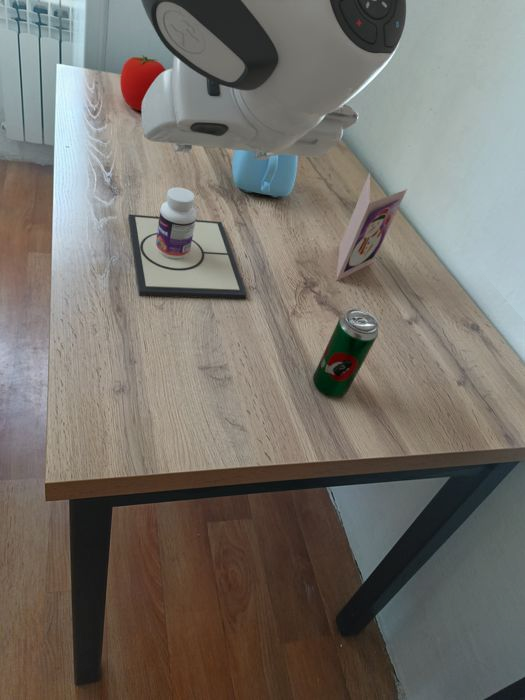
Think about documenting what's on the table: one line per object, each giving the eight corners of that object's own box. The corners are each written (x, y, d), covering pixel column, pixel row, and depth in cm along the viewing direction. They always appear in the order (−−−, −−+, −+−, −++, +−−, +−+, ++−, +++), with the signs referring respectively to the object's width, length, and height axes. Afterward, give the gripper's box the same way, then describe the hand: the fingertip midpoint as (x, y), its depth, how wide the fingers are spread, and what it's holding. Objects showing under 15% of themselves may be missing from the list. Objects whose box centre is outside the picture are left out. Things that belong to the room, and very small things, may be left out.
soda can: (353, 397, 73) (389, 332, 65) (321, 402, 70) (354, 336, 62) (336, 370, 76) (368, 305, 68) (305, 374, 74) (334, 307, 65)
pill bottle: (152, 239, 85) (159, 183, 79) (184, 239, 87) (194, 185, 81) (159, 260, 82) (167, 203, 75) (193, 259, 84) (204, 204, 77)
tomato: (169, 121, 121) (175, 71, 114) (121, 115, 117) (124, 62, 110) (162, 102, 128) (167, 53, 121) (116, 95, 124) (119, 45, 117)
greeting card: (340, 283, 91) (374, 205, 81) (308, 260, 94) (337, 182, 84) (376, 265, 99) (411, 191, 89) (345, 243, 102) (376, 170, 92)
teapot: (282, 167, 119) (297, 116, 111) (292, 210, 106) (310, 155, 98) (227, 156, 116) (238, 102, 108) (231, 198, 103) (244, 141, 95)
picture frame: (139, 295, 77) (139, 289, 76) (128, 218, 90) (128, 212, 89) (245, 299, 82) (247, 293, 81) (220, 225, 95) (221, 220, 94)
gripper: (365, 78, 53) (300, 130, 65) (158, 43, 45) (130, 110, 57) (368, 143, 53) (303, 183, 66) (162, 120, 45) (133, 170, 57)
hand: (221, 149), depth 61 cm, fingers open, 8 cm apart
